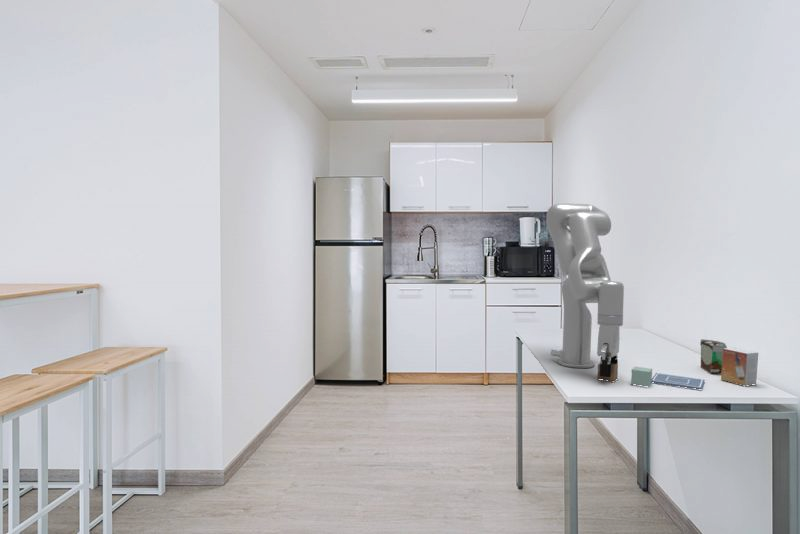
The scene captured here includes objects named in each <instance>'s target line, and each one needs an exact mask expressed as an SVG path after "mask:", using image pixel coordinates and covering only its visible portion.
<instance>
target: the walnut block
mask: <svg viewBox="0 0 800 534" xmlns="http://www.w3.org/2000/svg"><path fill="white" fill-rule="evenodd" d="M610 364H611V377H603V376H600V363H599V364H597V379H603V380H608V381H615V380H616V379H617V380H618V374H619V373H618V371H619V363H618V364H613V363H610ZM617 380H616V381H617ZM616 381H615V382H616Z"/></svg>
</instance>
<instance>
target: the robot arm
mask: <svg viewBox="0 0 800 534" xmlns="http://www.w3.org/2000/svg"><path fill="white" fill-rule="evenodd" d="M545 221H546V222H545V224H546V228H547V231H548V234H549V236H550V239H551V240H552V241H553V244H554V246H555V247H554V248H555V251H556V256H557V259H558V264H559V268H560V271H561V272H562V274H564V275H566V276H567V277H566V279H564V280H563V282H562V284H561V294H562V301H563V325H562V327H563V329H562V330H563V331H562V349H560V350H556V349H551V351H550V355H551V356H552V357H558V359H557V363H558V364H559V366H564V367H566V368H567V367H568V368H573V369H574V368H575V369H576V368H577V369H589V368H594V367H595V366H596V365H595V364H596V363H595V361H593V360H591V348H592V341H591V340H592V320H593V319H592V317H593V316H592V313H591V311H590V309H589V307H588V306H587V304H597V321H596V322H597V325H599V327H598V337H597V350H596V351H597V352H596V355H597V356H598V357H600V361H599V364H600V376H603V377H611V364H610V363H613V364H618V365H619V363H618V361H619V360H618V358H619V357H618V354H619V351H620V332H621V331H620V327H623V325H624V297H625V296H624V295H625V294H624V291H625V290H624V289H625V286H624V283H622V282H620V281H614V280H613V281H612V280H611V277H610V274H609V269H608V266H607V262H606V260H605V258H604V255H603V254H602V247H601V243H600V239H599V236H600V237H603V236H606V235H608V234H610V232H611V229H612V221H611V218H610V216H609V215H608V214H607V212H605V211H604V210H602V209H601V208H599V207H597V206H595V205H593V204H588V203H556V204H553V205H551V206H550V207H549V208H548V210H547V212H546V219H545Z"/></svg>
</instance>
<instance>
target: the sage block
mask: <svg viewBox="0 0 800 534" xmlns="http://www.w3.org/2000/svg"><path fill="white" fill-rule="evenodd" d="M652 378H653V368H650V367H648V368H647V367H642V366H634V367H633V368H631V378H630V379H631V381H630V382H631V383H630V385H631V384H636V385H642V386H648V387H649V386H650V385H651V386H652V384H653V383H652ZM651 386H650V387H651ZM650 387H649V388H650Z"/></svg>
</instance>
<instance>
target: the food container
mask: <svg viewBox="0 0 800 534" xmlns="http://www.w3.org/2000/svg"><path fill="white" fill-rule="evenodd" d="M724 348H728V347H727V345H726V343H725V342H723V341H719V340H712V339H700V368H701V369H702V370H703V369H704V370H703V371H705V372H706V371H707V372H706V373H708V374H709V375H720V373H721V372H722V358H723V349H724Z"/></svg>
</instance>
